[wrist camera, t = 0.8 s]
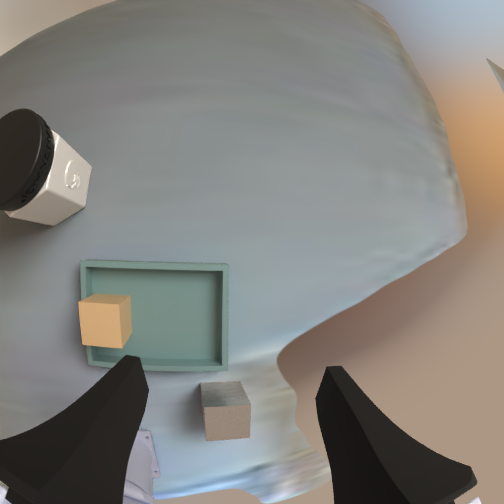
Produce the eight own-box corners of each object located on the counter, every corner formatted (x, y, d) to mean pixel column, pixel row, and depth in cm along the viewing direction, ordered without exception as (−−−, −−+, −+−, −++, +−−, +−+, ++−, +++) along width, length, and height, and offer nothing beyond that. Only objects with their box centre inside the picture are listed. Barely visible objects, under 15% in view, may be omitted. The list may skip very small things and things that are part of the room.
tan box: (132, 332, 26) (122, 348, 21) (98, 330, 25) (82, 344, 20) (130, 295, 26) (118, 304, 21) (95, 293, 25) (78, 301, 20)
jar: (85, 227, 25) (28, 214, 13) (29, 224, 23) (-36, 213, 11) (98, 148, 25) (57, 96, 13) (42, 151, 23) (-10, 110, 11)
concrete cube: (239, 411, 29) (249, 437, 24) (202, 413, 28) (206, 440, 23) (240, 381, 29) (250, 404, 24) (200, 382, 28) (204, 407, 23)
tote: (224, 361, 28) (228, 370, 26) (95, 356, 25) (88, 365, 23) (225, 263, 29) (229, 264, 26) (88, 259, 25) (80, 260, 23)
